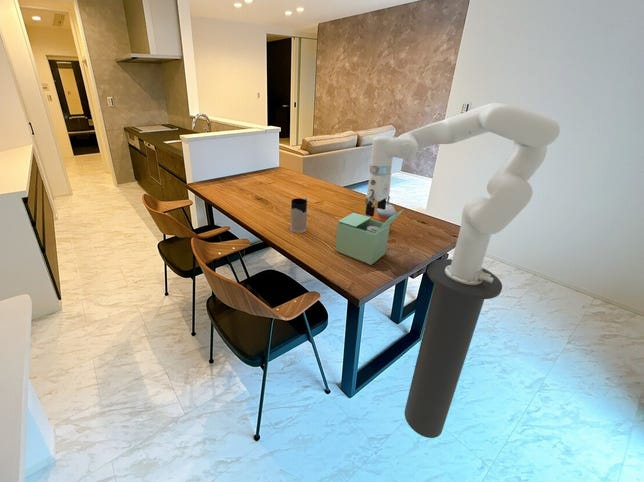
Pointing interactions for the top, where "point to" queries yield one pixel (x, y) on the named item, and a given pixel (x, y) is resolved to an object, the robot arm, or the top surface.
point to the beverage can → (372, 229)
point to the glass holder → (298, 215)
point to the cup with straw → (386, 213)
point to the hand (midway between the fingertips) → (375, 212)
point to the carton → (361, 238)
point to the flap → (389, 221)
